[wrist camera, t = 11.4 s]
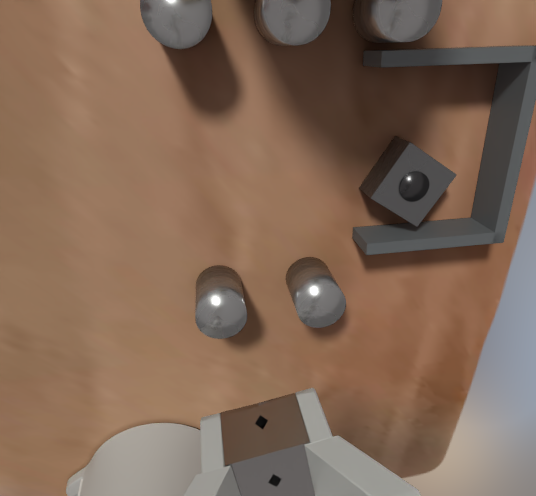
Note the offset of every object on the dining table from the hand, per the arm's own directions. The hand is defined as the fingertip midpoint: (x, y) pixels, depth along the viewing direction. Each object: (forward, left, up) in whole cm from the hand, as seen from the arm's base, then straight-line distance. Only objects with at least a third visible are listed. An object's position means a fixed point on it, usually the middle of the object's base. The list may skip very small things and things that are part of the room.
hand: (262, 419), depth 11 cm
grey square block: (-1, -15, -25) cm, 29 cm away
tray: (+1, -17, -25) cm, 30 cm away
